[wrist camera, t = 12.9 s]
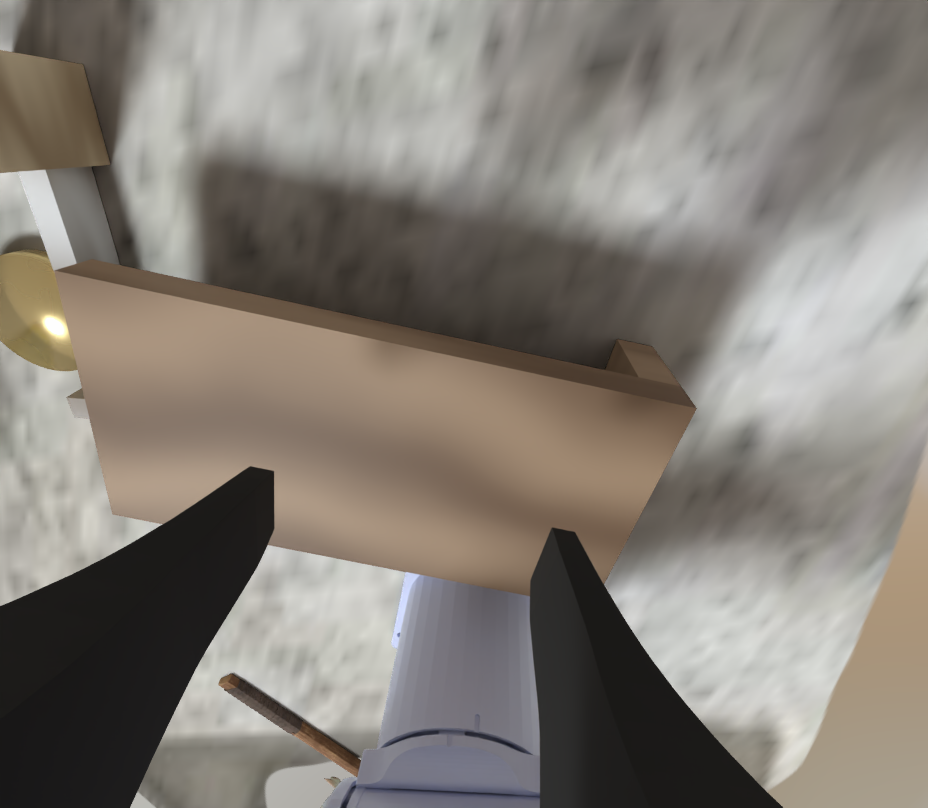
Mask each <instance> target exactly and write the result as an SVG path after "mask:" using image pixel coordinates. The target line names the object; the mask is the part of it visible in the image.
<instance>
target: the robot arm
mask: <svg viewBox="0 0 928 808" xmlns="http://www.w3.org/2000/svg"><path fill="white" fill-rule="evenodd" d="M274 529H275V527H274V471H272V470H267V469H262V468H257V467H252V466H250V467H248V468H246V469H245V470H243V471H242V472H240V473H239V474H237V475H236V476H235V477H233V478H232V479H230V480H229V481H227V482H226V483H224V484H223V485H222V486H220V487H219V488H217V489H216V490H214V491H213V492H211V493H210V494H209V495H207V496H206V497H204V498H203V499H201V500H200V501H198V502H197V503H195V504H194V505H192V506H191V507H189V508H188V509H186V510H184V511H183V512H181V513H180V514H178V515H177V516H175V517H174V518H172V519H171V520H169V521H167V522H166V523H164V524H163V525H161V526H159V527H158V528H156V529H154V530H153V531H151V532H149V533H148V534H146V535H144V536H143V537H141V538H139V539H138V540H136V541H134V542H133V543H131V544H129V545H127V546H126V547H124V548H122V549H120V550H118V551H117V552H115V553H113V554H111V555H109V556H107V557H106V558H104V559H102V560H100V561H98V562H96V563H94V564H92V565H90V566H88V567H86V568H84V569H82V570H80V571H78V572H76V573H74V574H72V575H70V576H68V577H65V578H63V579H61V580H59V581H57V582H54V583H52V584H50V585H48V586H45V587H43V588H41V589H39V590H37V591H34V592H32V593H30V594H28V595H25V596H23V597H21V598H19V599H17V600H14V601H12V602H9V603H7V604H5V605H2V606H0V808H130V806H131V804H132V802H133V800H134V798H135V795H136V793H137V791H138V789H139V787H140V784H141V782H142V780H143V778H144V776H145V773H146V771H147V769H148V767H149V764H150V762H151V760H152V758H153V756H154V754H155V752H156V749H157V747H158V745H159V743H160V741H161V739H162V737H163V735H164V733H165V731H166V728H167V726H168V724H169V722H170V720H171V718H172V716H173V714H174V712H175V710H176V708H177V706H178V704H179V701H180V699H181V697H182V695H183V693H184V691H185V689H186V687H187V685H188V683H189V681H190V679H191V677H192V675H193V673H194V671H195V669H196V667H197V666H198V664H199V662H200V660H201V659H202V657H203V655H204V653H205V651H206V650H207V648H208V646H209V645H210V643H211V641H212V640H213V638H214V637H215V635H216V633H217V632H218V630H219V628H220V627H221V625H222V624H223V622H224V620H225V619H226V617H227V615H228V614H229V612H230V611H231V609H232V607H233V606H234V604H235V603H236V601H237V599H238V598H239V596H240V594H241V593H242V591H243V589H244V588H245V586H246V585H247V583H248V581H249V580H250V578H251V576H252V575H253V573H254V571H255V570H256V568H257V566H258V564H259V562H260V560H261V558H262V556H263V554H264V551H265V549H266V547H267V545H268V543H269V540H270V538H271V536H272V534H273V531H274ZM391 644H392V646H393V647H394V648H396V649H397V652H396V657H395V662H394V666H393V671H392V676H391V681H390V686H389V691H388V696H387V700H386V705H385V710H384V715H383V720H382V725H381V730H380V734H379V739H378V744H377V749H365V750H364V751H363V755H362V759H361V763H360V768H359V772H358V776H357V777H349V778H346V779H343V780H342V781H341V782H340V783H339V784H338V785H337V786H336V788H335V789H334V790H333V792H332V794H331V795H330V796H329V797H328V798H327V799H326V800H325V802H324V803H323V805H322V806H321V808H783V807H782V806H781V805H780V804H779V803H778V802H777V801H776V800H775V799H774V798H773V797H771V796H770V795H769V794H768V793H767V792H766V791H765V790H764V789H763V788H762V787H761V786H760V785H759V784H758V783H757V782H756V781H755V780H754V778H753V777H752V776H751V775H750V774H749V773H748V772H747V771H746V770H745V769H744V768H743V767H742V766H741V765H740V764H739V763H738V762H737V761H736V760H735V759H734V758H733V757H732V756H731V755H730V753H729V752H728V751H727V750H726V749H725V748H724V747H723V746H722V745H721V744H720V743H719V741H718V740H717V739H716V738H715V737H714V736H713V735H712V734H711V732H710V731H709V730H708V729H707V728H706V727H705V726H704V724H703V723H702V722H701V721H700V720H699V719H698V717H697V716H696V715H695V714H694V713H693V712H692V710H691V709H690V708H689V707H688V706H687V705H686V703H685V702H684V701H683V700H682V698H681V697H680V696H679V695H678V694H677V692H676V691H675V690H674V689H673V687H672V686H671V685H670V683H669V682H668V681H667V679H666V678H665V677H664V675H663V674H662V673H661V671H660V670H659V669H658V668H657V666H656V665H655V664H654V662H653V661H652V659H651V658H650V657H649V655H648V654H647V652H646V651H645V649H644V648H643V647H642V645H641V644H640V642H639V641H638V639H637V638H636V636H635V635H634V633H633V632H632V630H631V629H630V627H629V625H628V624H627V622H626V621H625V619H624V618H623V616H622V614H621V613H620V611H619V609H618V608H617V606H616V604H615V603H614V601H613V599H612V598H611V596H610V594H609V593H608V591H607V589H606V587H605V586H604V584H603V582H602V580H601V579H600V577H599V575H598V573H597V571H596V570H595V568H594V566H593V564H592V562H591V560H590V559H589V557H588V555H587V553H586V551H585V549H584V547H583V545H582V544H581V542H580V540H579V538H578V536H577V535H576V533H575V532H573V531H568V530H563V529H558V528H553V527H552V528H551V530H550V533H549V535H548V538H547V540H546V543H545V545H544V548H543V550H542V553H541V555H540V558H539V560H538V562H537V565H536V567H535V570H534V572H533V575H532V577H531V580H530V596H526V595H521V594H515V593H510V592H505V591H500V590H495V589H490V588H485V587H480V586H475V585H470V584H465V583H459V582H454V581H449V580H444V579H439V578H434V577H429V576H424V575H419V574H414V573H409V572H406V573H405V578H404V583H403V588H402V593H401V598H400V603H399V608H398V612H397V617H396V622H395V627H394V632H393V637H392V642H391Z"/></svg>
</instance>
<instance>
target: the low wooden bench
mask: <svg viewBox="0 0 928 808" xmlns="http://www.w3.org/2000/svg"><path fill="white" fill-rule="evenodd" d="M54 273H55V277H56V282H57V286H58V290H59V294H60V298H61V302H62V307H63V311H64V315H65V319H66V323H67V327H68V331H69V336H70V340H71V344H72V348H73V352H74V356H75V360H76V365H77V369H78V373H79V377H80V381H81V385H82V390H83V394H84V398H85V402H86V406H87V410H88V414H89V419H90V423H91V427H92V431H93V435H94V439H95V443H96V448H97V452H98V456H99V460H100V464H101V468H102V473H103V477H104V481H105V485H106V489H107V493H108V497H109V502H110V506H111V510H112V514H113V515H119V516H124V517H129V518H134V519H139V520H144V521H149V522H154V523H159V524H164V523H166V522H167V521H169V520H171V519H172V518H174V517H175V516H177V515H178V514H180V513H181V512H183V511H184V510H186V509H188V508H189V507H191V506H192V505H194V504H195V503H197V502H198V501H200V500H201V499H203V498H204V497H206V496H207V495H209V494H210V493H211V492H213V491H214V490H216V489H217V488H219V487H220V486H222V485H223V484H224V483H226V482H227V481H229V480H230V479H232V478H233V477H235V476H236V475H237V474H239V473H240V472H242V471H243V470H245V469H246V468H248V467H250V466H252V467H257V468H262V469H267V470H272V471H274V527H275V529H274V531H273V534H272V536H271V538H270V540H269V543H268V545H271V546H276V547H281V548H286V549H292V550H297V551H302V552H307V553H312V554H317V555H322V556H327V557H332V558H337V559H342V560H348V561H353V562H358V563H363V564H368V565H373V566H378V567H383V568H388V569H393V570H398V571H403V572H409V573H414V574H419V575H424V576H429V577H434V578H439V579H444V580H449V581H454V582H459V583H465V584H470V585H475V586H480V587H485V588H490V589H495V590H500V591H505V592H510V593H515V594H521V595H526V596H530V580H531V577H532V575H533V572H534V570H535V567H536V565H537V562H538V560H539V558H540V555H541V553H542V550H543V548H544V545H545V543H546V540H547V538H548V535H549V533H550V530H551V528H552V527H553V528H558V529H563V530H568V531H573V532H575V533H576V535H577V536H578V538H579V540H580V542H581V544H582V545H583V547H584V549H585V551H586V553H587V555H588V557H589V559H590V560H591V562H592V564H593V566H594V568H595V570H596V571H597V573H598V575H599V577H600V579H601V580H602V582H603V584H604V583H605V581H606V579H607V577H608V575H609V574H610V572H611V570H612V568H613V566H614V564H615V562H616V560H617V558H618V557H619V555H620V553H621V551H622V549H623V547H624V545H625V543H626V541H627V540H628V538H629V536H630V534H631V532H632V530H633V528H634V526H635V524H636V522H637V521H638V519H639V517H640V515H641V513H642V511H643V509H644V507H645V505H646V504H647V502H648V500H649V498H650V496H651V494H652V492H653V490H654V488H655V486H656V485H657V483H658V481H659V479H660V477H661V475H662V473H663V471H664V469H665V468H666V466H667V464H668V462H669V460H670V458H671V456H672V454H673V452H674V451H675V449H676V447H677V445H678V443H679V441H680V439H681V437H682V435H683V433H684V432H685V430H686V428H687V426H688V424H689V422H690V420H691V418H692V416H693V415H694V413H695V411H696V409H697V408H696V407H695V405H694V404H693V403H692V401H691V400H690V398H689V397H688V396H687V394H686V393H685V391H684V390H683V389H682V387H681V386H680V384H679V383H678V382H677V380H676V379H675V377H674V376H673V375H672V373H671V372H670V370H669V369H668V368H667V366H666V365H665V363H664V362H663V361H662V359H661V358H660V356H659V355H658V354H657V352H656V351H655V349H654V348H653V347H652V346H647V345H643V344H638V343H633V342H629V341H624V340H620V339H617V340H616V343H615V345H614V348H613V350H612V353H611V356H610V358H609V361H608V363H607V366H606V368H605V370H603V369H598V368H593V367H589V366H584V365H579V364H575V363H570V362H566V361H561V360H556V359H552V358H547V357H542V356H538V355H533V354H529V353H524V352H519V351H515V350H510V349H505V348H501V347H496V346H492V345H487V344H482V343H478V342H473V341H468V340H464V339H459V338H455V337H450V336H445V335H441V334H436V333H431V332H427V331H422V330H418V329H413V328H408V327H404V326H399V325H394V324H390V323H385V322H381V321H376V320H371V319H367V318H362V317H357V316H353V315H348V314H344V313H339V312H334V311H330V310H325V309H320V308H316V307H311V306H306V305H302V304H297V303H293V302H288V301H283V300H279V299H274V298H269V297H265V296H260V295H256V294H251V293H246V292H242V291H237V290H232V289H228V288H223V287H219V286H214V285H209V284H205V283H200V282H195V281H191V280H186V279H182V278H177V277H172V276H168V275H163V274H158V273H154V272H149V271H145V270H140V269H135V268H131V267H126V266H121V265H117V264H112V263H108V262H103V261H98V260H94V259H91V260H87V261H84V262H81V263H77V264H74V265H71V266H67V267H64V268H61V269H57V270H54Z"/></svg>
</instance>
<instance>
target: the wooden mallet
mask: <svg viewBox="0 0 928 808" xmlns="http://www.w3.org/2000/svg"><path fill="white" fill-rule="evenodd" d="M103 165H110V161H109V158H108V154H107V150H106V147H105V143H104V139H103V136H102V132H101V128H100V125H99V121H98V117H97V114H96V110H95V106H94V103H93V99H92V95H91V92H90V88H89V84H88V81H87V77H86V73H85V70H84V66H83V64H78V63H72V62H66V61H61V60H55V59H49V58H43V57H37V56H32V55H26V54H20V53H14V52H8V51H3V50H0V173H6V172H18V174H19V177H20V180H21V182H22V185H23V188H24V191H25V194H26V196H27V199H28V202H29V205H30V207H31V210H32V213H33V216H34V218H35V221H36V224H37V227H38V229H39V232H40V235H41V238H42V240H43V243H44V246H45V249H46V251H47V254H48V257H49V260H50V262H51V265H52V268H53V271H54V270H57V269H61V268H64V267H67V266H71V265H74V264H77V263H81V262H84V261H87V260H91V259H94V260H98V261H103V262H108V263H112V264H117V265H120V263H119V260H118V256H117V253H116V249H115V246H114V242H113V239H112V236H111V232H110V229H109V225H108V222H107V218H106V215H105V211H104V208H103V205H102V201H101V198H100V194H99V191H98V187H97V184H96V181H95V177H94V174H93V170H92V167H91V166H103ZM66 398H67V400H68V403H69V405H70V408H71V410H72V413H73V415H74V417H75V418H85V419H89V414H88V410H87V406H86V402H85V398H84V394H83V390H82V388H81V389H80V390H78V391H76V392H75V393H73V394H71V395H70V396H68V397H66Z"/></svg>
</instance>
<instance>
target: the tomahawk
mask: <svg viewBox="0 0 928 808" xmlns="http://www.w3.org/2000/svg"><path fill="white" fill-rule="evenodd" d="M218 685H219V686H221V687H222V688H224V690H225V691H227V692H228V693H229V694H231V695H232V696H234V697H236V698H237V699H238V700H240V701H241V702H243V703H245V704H246V705H247V706H249V707H250V708H252V709H254V710H255V711H257V712H258V713H259V714H261V715H262V716H264V717H266V718H267V719H268V720H270V721H271V722H273V723H274V724H276V725H278V726H279V727H280V728H282V729H283V730H285V731H286V732H288V733H290V734H292V735H294V736H296V737H297V738H299V739H300V740H302V741H303V742H305V743H306V744H308V745H309V746H311V747H312V748H314V749H315V750H317V751H318V752H320V753H321V754H323V755H324V756H326V757H327V758H329V759H330V760H332V761H333V762H335V763H336V764H338V765H339V766H341V767H342V768H344V769H345V770H347V771H348V772H350V773H352V774H353V775H354V776H356V777H357V776H358V772H359V768H360V763H361V760H360V759H358V758H357V757H355V756H354V755H352V754H351V753H349V752H348V751H346V750H345V749H343V748H342V747H340V746H339V745H337V744H336V743H334V742H333V741H332V740H330V739H329V738H327V737H326V736H324V735H323V734H321V733H320V732H318V731H317V730H315V729H314V728H312V727H311V726H309V725H308V724H306V723H305V722H303V721H302V720H300V719H299V718H298V717H296V716H295V715H293V714H292V713H290V712H289V711H287V710H286V709H284V708H283V707H281V706H280V705H278V704H277V703H275V702H274V701H272V700H271V699H269V698H268V697H267V696H265V695H263V694H262V693H260V692H259V691H258V690H256V689H254V688H253V687H251V686H250V685H249V684H247V683H246V682H244V681H242V680H241V679H239V678H237V677H236V676H234V675H233V674H230V675H228V676H226V677H223V678H221V679H220V681H219V684H218ZM324 779H325V778H324ZM325 780H326V781H327V782H328V783H329V784H330V785H332V787H334V788H336V786H337V785H338V784H339V783H340V782H341V781H340V779H339V778H337V777H331V779H325Z"/></svg>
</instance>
